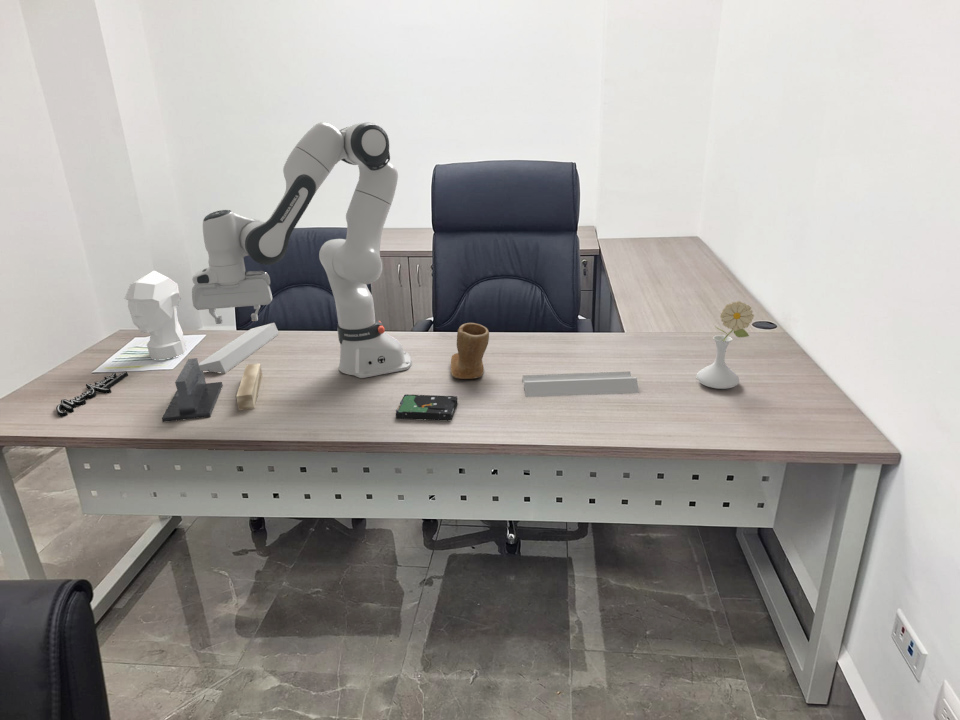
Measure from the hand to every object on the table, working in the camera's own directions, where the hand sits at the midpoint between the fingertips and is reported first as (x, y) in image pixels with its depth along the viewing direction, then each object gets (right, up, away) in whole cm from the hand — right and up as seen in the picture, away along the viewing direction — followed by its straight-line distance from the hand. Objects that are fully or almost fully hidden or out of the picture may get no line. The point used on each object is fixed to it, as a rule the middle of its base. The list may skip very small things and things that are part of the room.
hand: (237, 321), depth 174 cm
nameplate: (-46, -21, +11) cm, 52 cm away
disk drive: (+53, -25, -5) cm, 59 cm away
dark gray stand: (-13, -23, +3) cm, 26 cm away
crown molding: (+95, -19, +5) cm, 97 cm away
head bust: (-38, -9, +36) cm, 53 cm away
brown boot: (+64, -14, +17) cm, 68 cm away
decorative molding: (-14, -8, +38) cm, 41 cm away
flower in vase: (+134, -18, +3) cm, 136 cm away
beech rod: (+1, -20, +8) cm, 22 cm away
